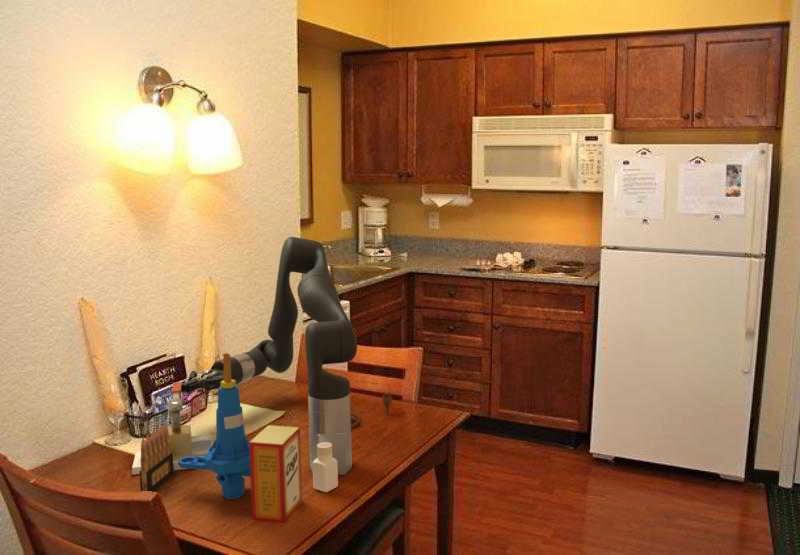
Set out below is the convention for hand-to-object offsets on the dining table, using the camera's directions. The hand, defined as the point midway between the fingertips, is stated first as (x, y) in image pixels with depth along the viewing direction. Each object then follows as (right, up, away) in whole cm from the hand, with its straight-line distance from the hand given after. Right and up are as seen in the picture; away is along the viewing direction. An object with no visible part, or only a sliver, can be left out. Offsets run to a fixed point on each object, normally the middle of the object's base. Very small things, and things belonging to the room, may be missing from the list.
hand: (183, 388), depth 178 cm
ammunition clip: (+1, -17, -21) cm, 27 cm away
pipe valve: (+2, -14, -10) cm, 17 cm away
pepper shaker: (+37, -17, -24) cm, 47 cm away
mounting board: (+2, -15, -10) cm, 18 cm away
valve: (+15, -18, -25) cm, 34 cm away
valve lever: (0, -2, -5) cm, 6 cm away
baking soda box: (+28, -19, -33) cm, 48 cm away
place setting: (+40, -12, +14) cm, 44 cm away
